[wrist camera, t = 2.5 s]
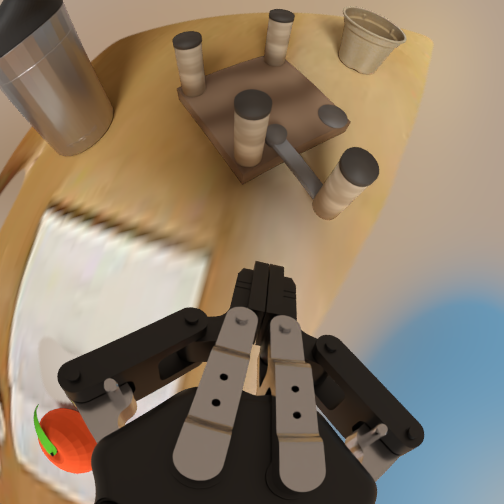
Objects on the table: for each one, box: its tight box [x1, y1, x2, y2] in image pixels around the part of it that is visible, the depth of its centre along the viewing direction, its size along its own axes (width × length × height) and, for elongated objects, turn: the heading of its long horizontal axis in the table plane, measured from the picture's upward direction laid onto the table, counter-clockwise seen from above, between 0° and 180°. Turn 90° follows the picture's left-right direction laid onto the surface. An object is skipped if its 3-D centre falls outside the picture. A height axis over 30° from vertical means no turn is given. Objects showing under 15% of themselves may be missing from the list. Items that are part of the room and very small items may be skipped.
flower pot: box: [339, 7, 406, 74], centre depth 28 cm, size 9×9×9 cm
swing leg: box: [265, 124, 379, 220], centre depth 20 cm, size 10×3×8 cm, turn 33°
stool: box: [173, 9, 350, 184], centre depth 24 cm, size 14×14×10 cm
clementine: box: [34, 405, 97, 474], centre depth 16 cm, size 8×7×7 cm
